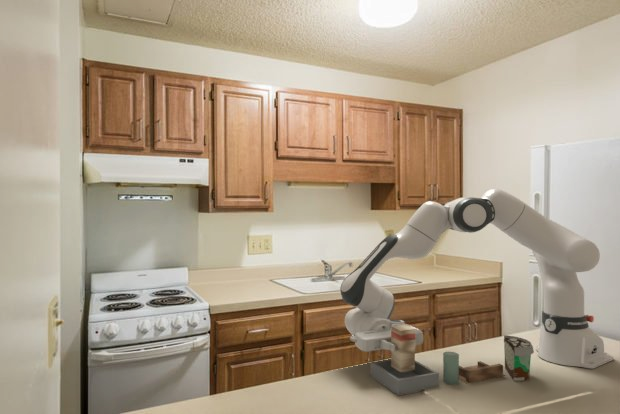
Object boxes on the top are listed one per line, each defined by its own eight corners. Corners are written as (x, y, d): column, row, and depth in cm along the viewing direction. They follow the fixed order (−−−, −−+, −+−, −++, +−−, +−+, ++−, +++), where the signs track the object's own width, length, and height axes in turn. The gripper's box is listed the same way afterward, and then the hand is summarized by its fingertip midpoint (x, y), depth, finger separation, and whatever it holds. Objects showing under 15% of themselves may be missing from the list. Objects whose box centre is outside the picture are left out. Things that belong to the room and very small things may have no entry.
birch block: (404, 364, 119) (405, 324, 119) (414, 369, 115) (415, 329, 115) (390, 366, 117) (391, 326, 117) (400, 372, 113) (400, 330, 113)
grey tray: (408, 369, 125) (408, 356, 125) (438, 387, 112) (438, 373, 112) (370, 375, 120) (370, 362, 120) (398, 395, 107) (398, 380, 107)
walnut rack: (481, 366, 127) (481, 354, 127) (506, 377, 119) (506, 364, 119) (443, 373, 122) (443, 360, 122) (466, 385, 113) (466, 372, 113)
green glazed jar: (451, 379, 117) (451, 350, 117) (462, 385, 114) (462, 355, 114) (440, 382, 116) (440, 352, 116) (450, 387, 112) (450, 357, 112)
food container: (540, 387, 112) (540, 349, 112) (515, 385, 113) (515, 348, 114) (526, 370, 124) (526, 335, 124) (503, 368, 126) (503, 334, 126)
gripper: (347, 326, 124) (371, 339, 111) (406, 319, 132) (435, 331, 119) (347, 347, 124) (371, 363, 111) (406, 339, 132) (435, 354, 119)
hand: (404, 347), depth 115 cm, fingers closed on birch block, 4 cm apart
